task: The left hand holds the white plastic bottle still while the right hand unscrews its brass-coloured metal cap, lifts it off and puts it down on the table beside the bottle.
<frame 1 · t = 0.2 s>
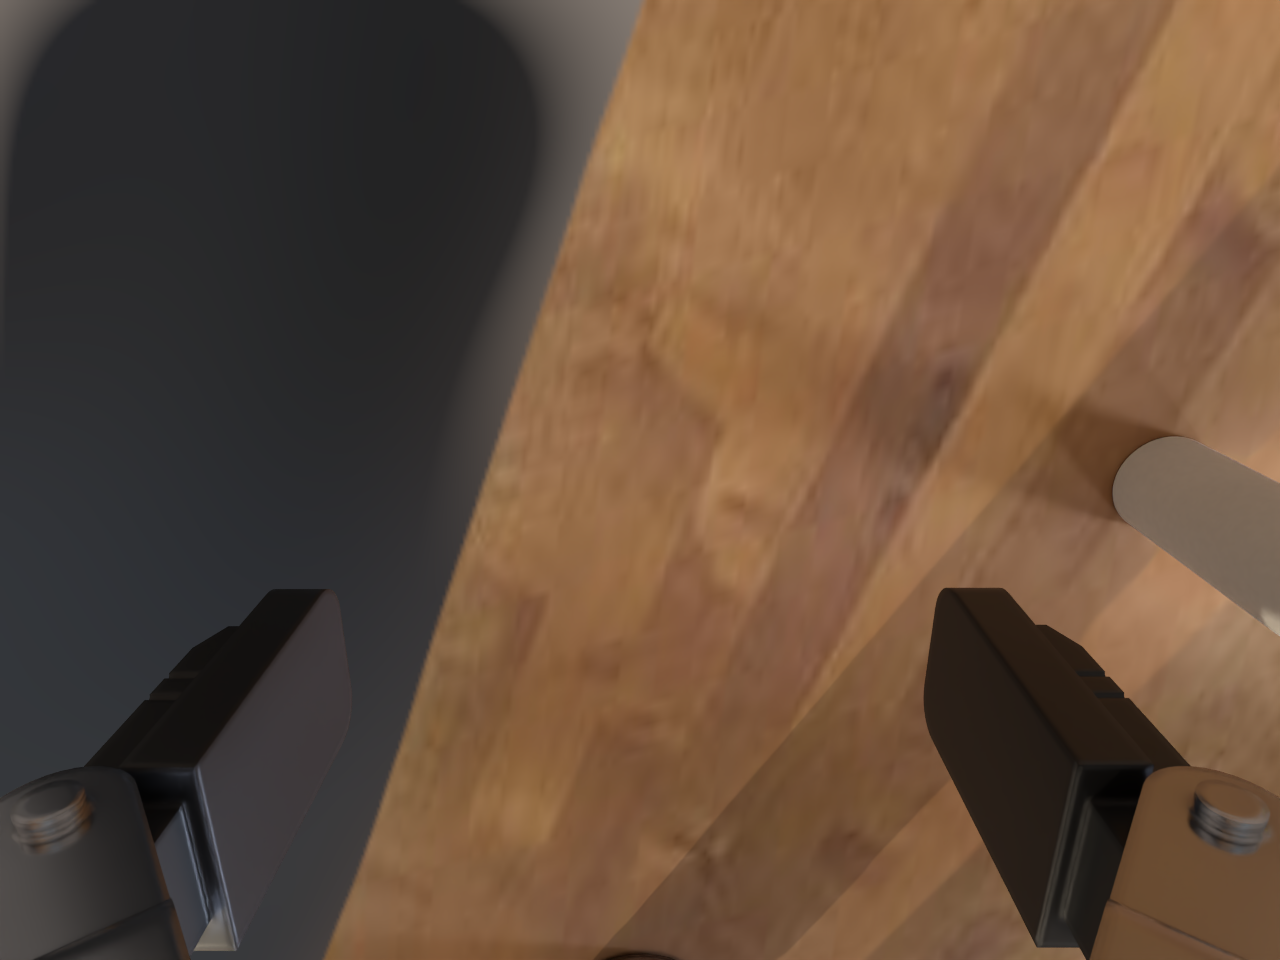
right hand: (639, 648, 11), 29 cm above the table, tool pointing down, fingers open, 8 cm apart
bottle: (1163, 483, 42), on the table
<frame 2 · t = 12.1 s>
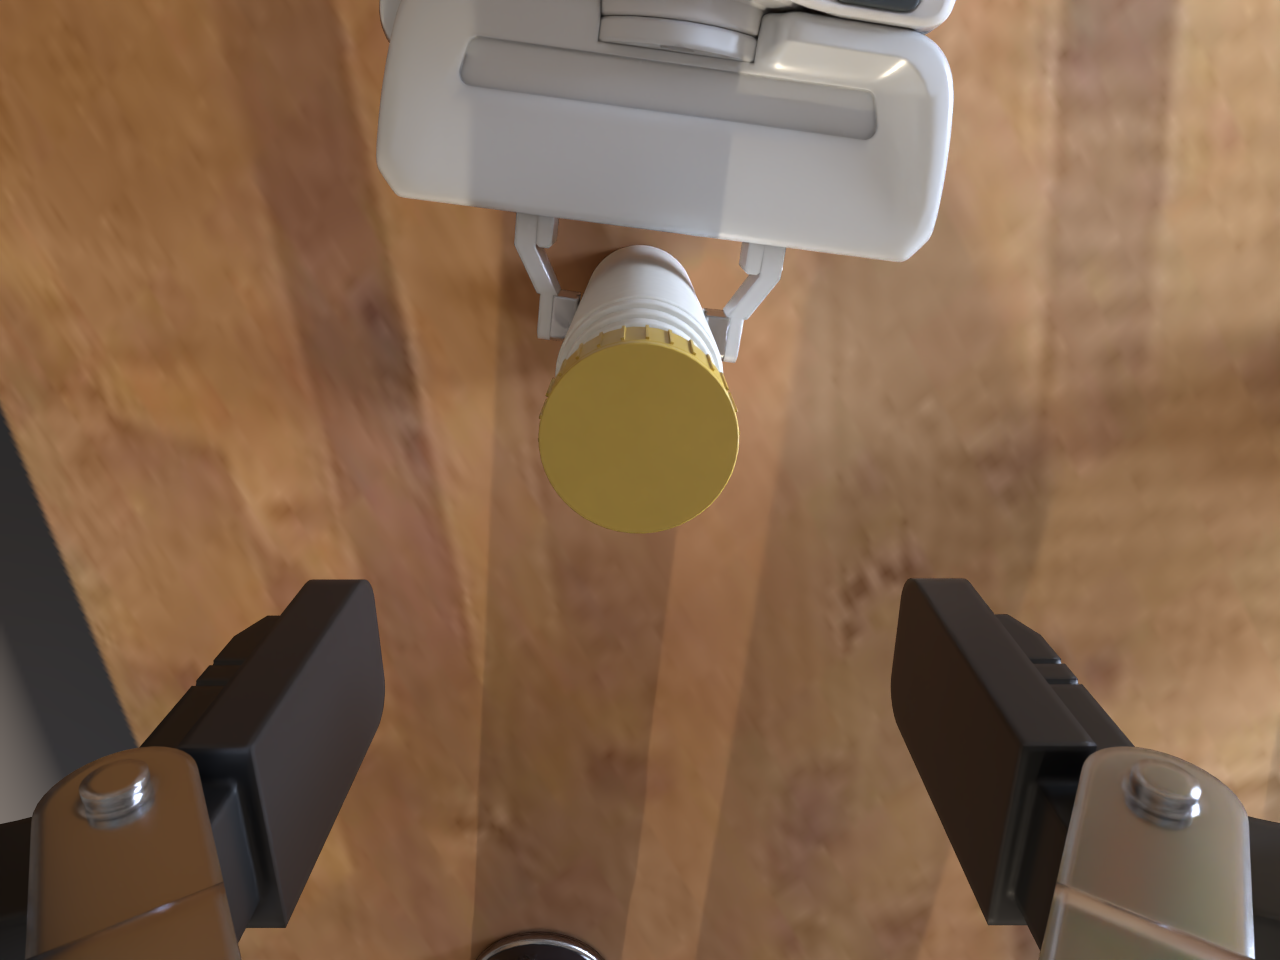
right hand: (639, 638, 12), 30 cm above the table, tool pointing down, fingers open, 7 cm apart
left hand: (637, 348, 34), fingers closed on bottle, 5 cm apart
bottle: (639, 300, 39), on the table, touching left hand
cap: (638, 438, 20), point 21 cm above the table, screwed on, not yet turned
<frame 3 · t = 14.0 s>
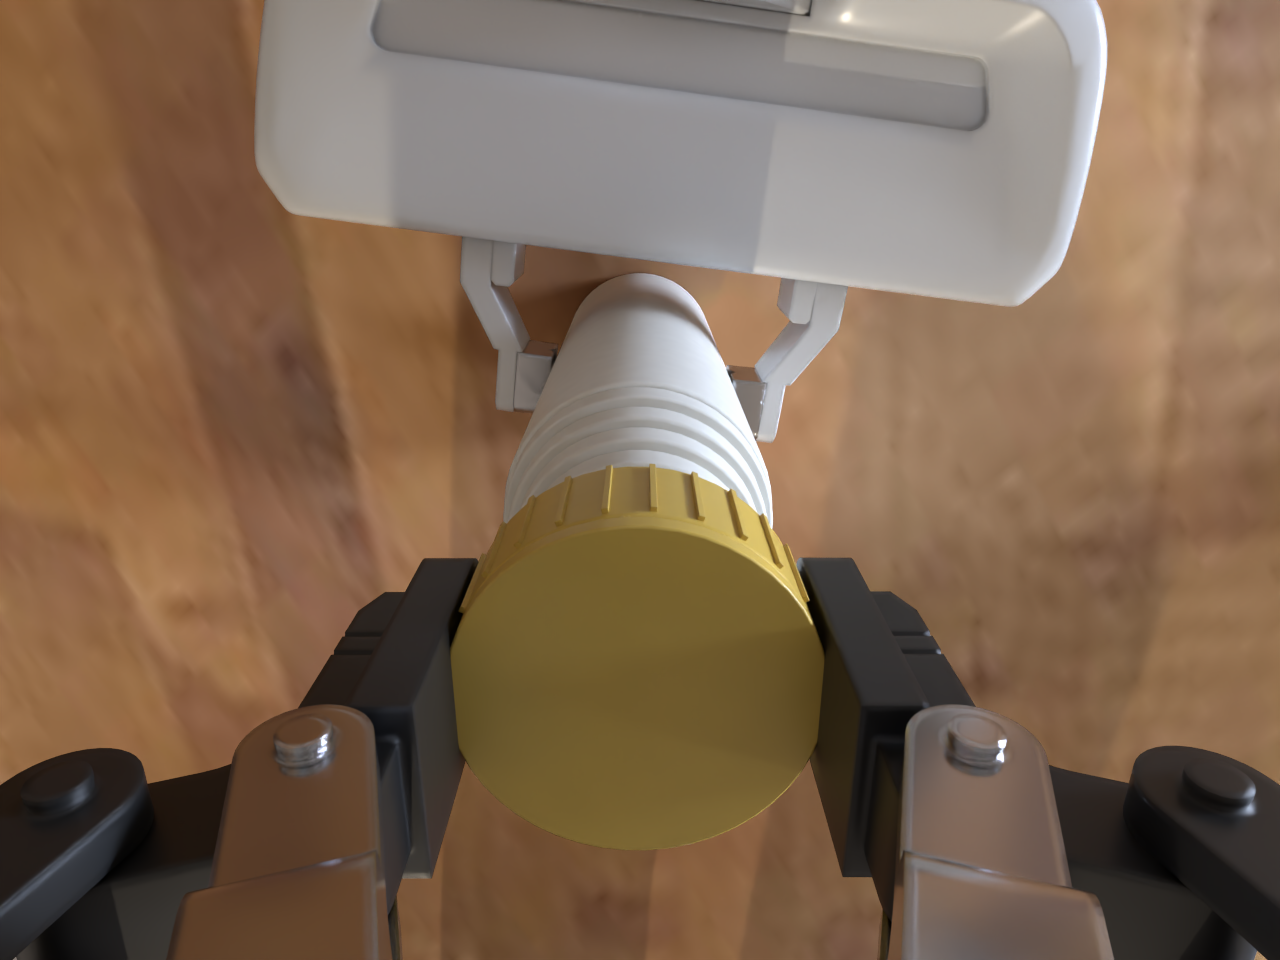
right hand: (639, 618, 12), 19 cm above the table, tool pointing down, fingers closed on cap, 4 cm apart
bottle: (639, 344, 30), on the table, touching left hand
cap: (636, 687, 11), point 21 cm above the table, screwed on, not yet turned, touching right hand
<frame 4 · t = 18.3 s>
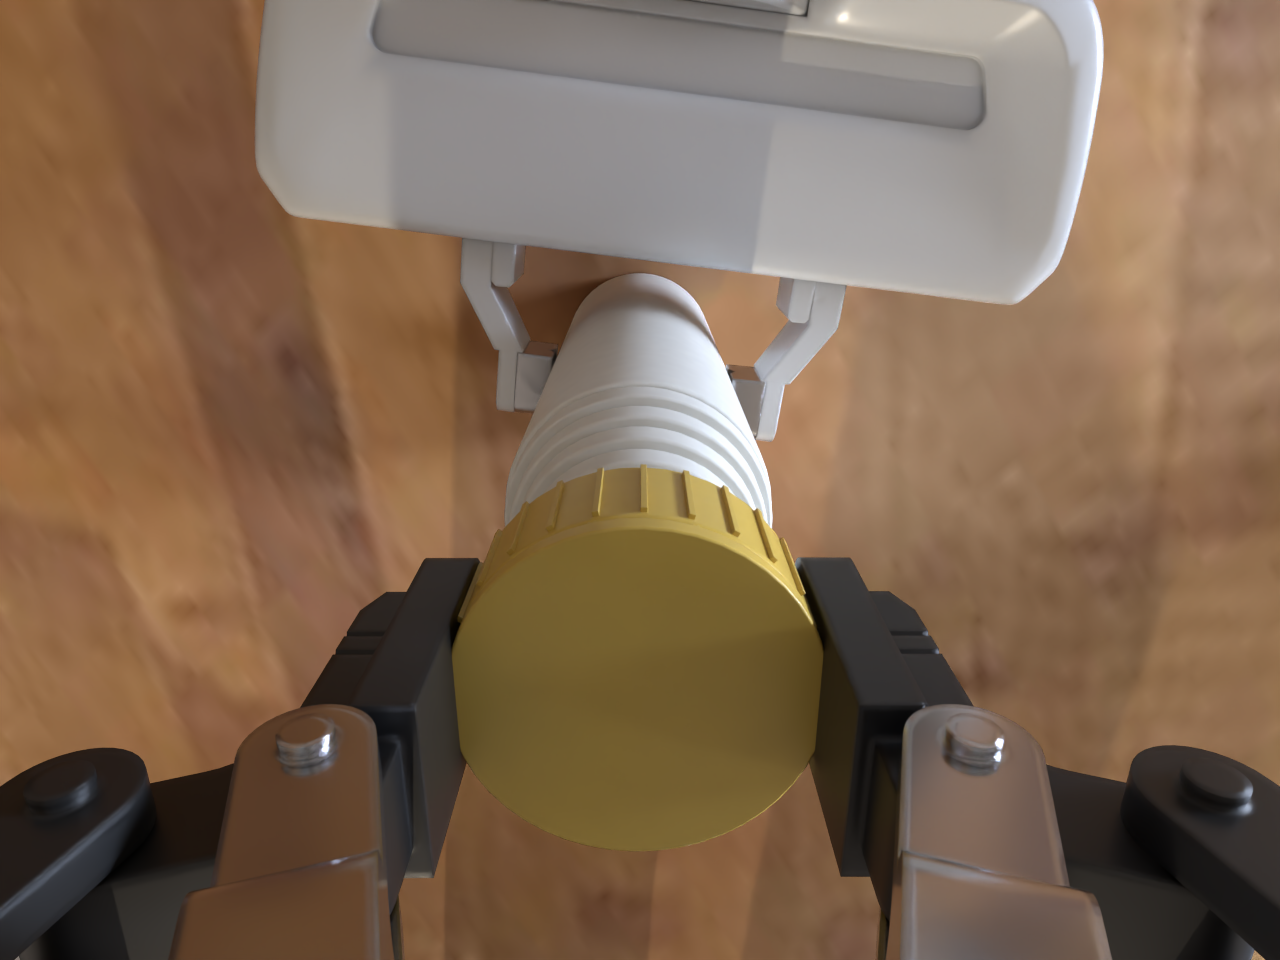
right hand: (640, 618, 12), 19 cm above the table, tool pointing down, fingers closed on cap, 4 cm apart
bottle: (639, 344, 30), on the table, touching left hand
cap: (637, 688, 11), point 21 cm above the table, turned 100° so far, risen 0.1 cm, still on its thread, touching right hand
when the right hand's fingers open (1 cm above the table, at t = 32.5 s): cap stays where it is, point 2 cm above the table.
when the left hand's fingers open (7 cm above the table, at t = 33.6 s): bottle stays where it is, on the table.
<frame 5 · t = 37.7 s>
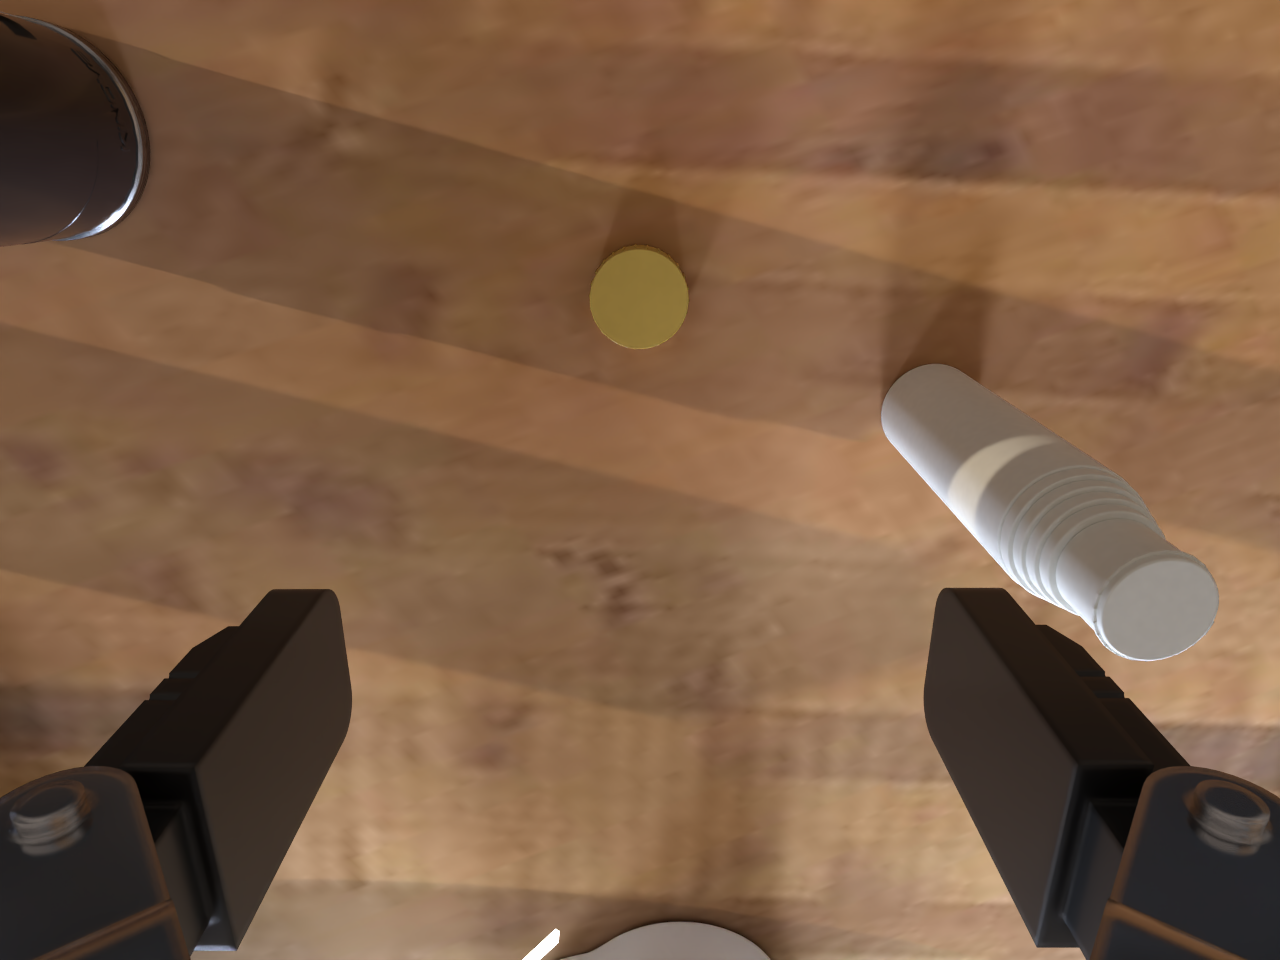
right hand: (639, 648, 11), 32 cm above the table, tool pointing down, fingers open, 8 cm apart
bottle: (929, 410, 44), on the table
cap: (639, 299, 40), point 2 cm above the table, off its thread
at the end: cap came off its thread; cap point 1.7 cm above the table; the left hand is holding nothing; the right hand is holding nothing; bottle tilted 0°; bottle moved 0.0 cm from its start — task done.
